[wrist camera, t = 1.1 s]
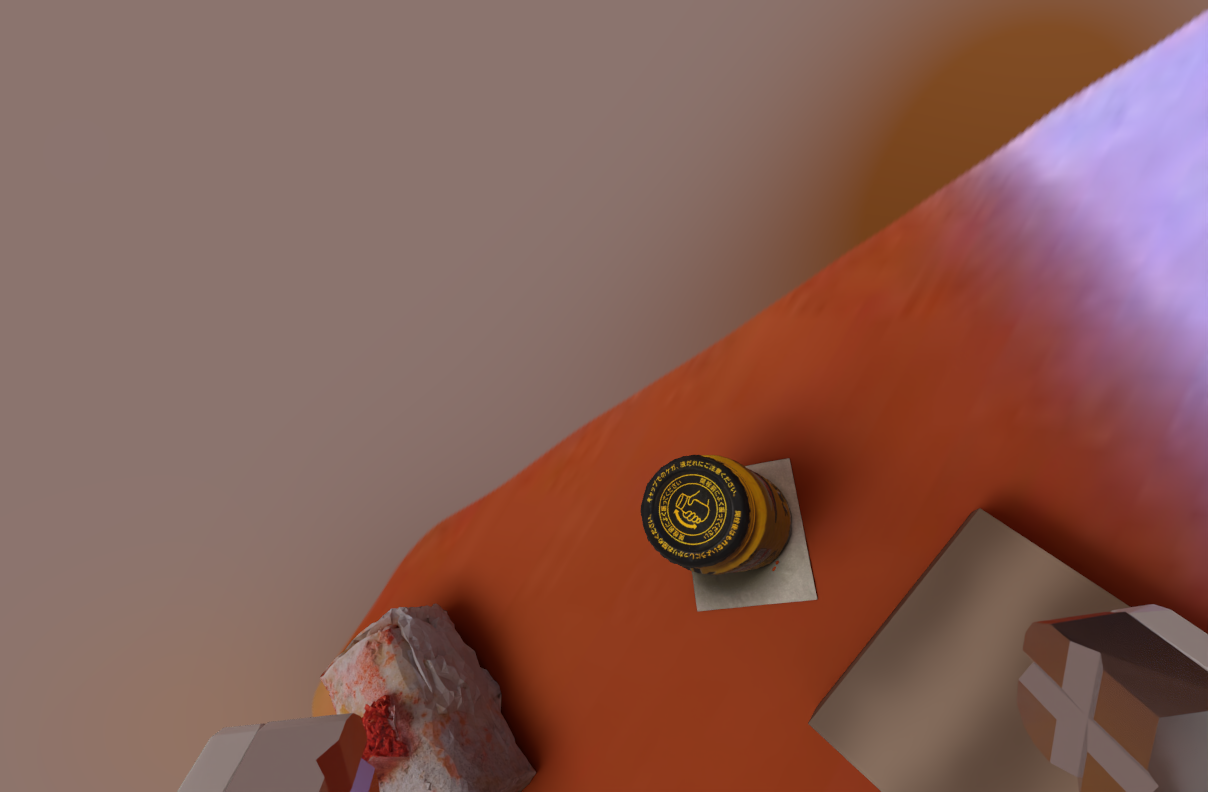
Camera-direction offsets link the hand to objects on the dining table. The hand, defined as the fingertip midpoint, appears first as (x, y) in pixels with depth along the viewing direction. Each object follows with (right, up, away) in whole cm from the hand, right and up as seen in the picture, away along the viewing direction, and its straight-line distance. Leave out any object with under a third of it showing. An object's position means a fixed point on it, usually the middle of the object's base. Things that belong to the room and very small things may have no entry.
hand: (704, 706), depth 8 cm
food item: (-11, -18, +38) cm, 44 cm away
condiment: (+8, -5, +33) cm, 34 cm away
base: (+20, -12, +25) cm, 35 cm away
